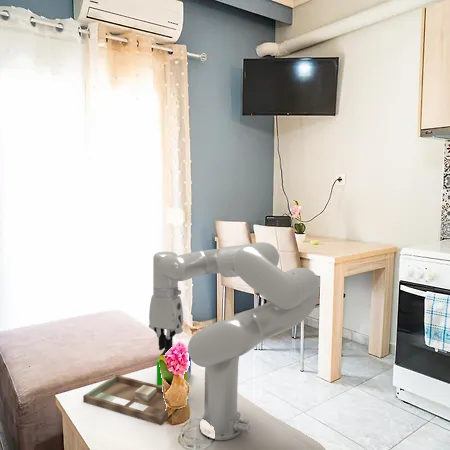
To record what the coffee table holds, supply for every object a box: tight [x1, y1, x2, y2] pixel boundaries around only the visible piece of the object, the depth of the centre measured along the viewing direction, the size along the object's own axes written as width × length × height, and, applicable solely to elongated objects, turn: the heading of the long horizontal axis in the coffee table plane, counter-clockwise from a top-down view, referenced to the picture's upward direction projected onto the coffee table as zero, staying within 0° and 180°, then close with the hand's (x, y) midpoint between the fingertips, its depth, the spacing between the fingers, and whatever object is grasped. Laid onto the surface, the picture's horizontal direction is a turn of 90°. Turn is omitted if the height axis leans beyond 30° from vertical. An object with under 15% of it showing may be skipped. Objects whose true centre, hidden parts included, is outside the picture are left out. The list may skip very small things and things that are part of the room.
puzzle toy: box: [156, 349, 192, 387], centre depth 144 cm, size 10×10×10 cm
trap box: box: [83, 374, 169, 426], centre depth 130 cm, size 29×16×4 cm, turn 66°
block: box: [135, 385, 157, 403], centre depth 132 cm, size 5×5×2 cm
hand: (165, 349), depth 127 cm, fingers closed
